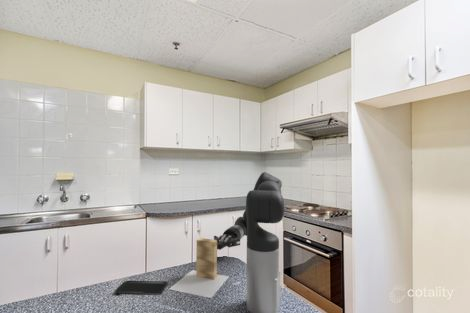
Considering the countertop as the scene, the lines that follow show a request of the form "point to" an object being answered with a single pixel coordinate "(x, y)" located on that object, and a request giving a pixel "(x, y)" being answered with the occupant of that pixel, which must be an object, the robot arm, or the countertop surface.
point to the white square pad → (199, 284)
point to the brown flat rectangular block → (206, 258)
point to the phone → (141, 287)
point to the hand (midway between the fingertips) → (218, 247)
